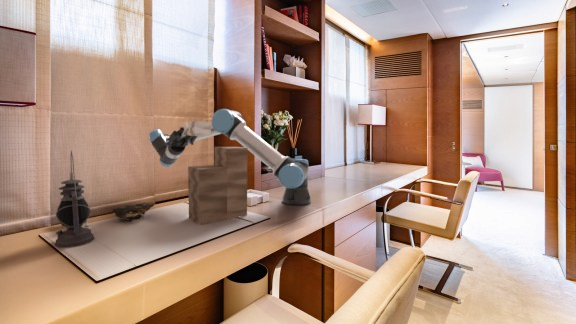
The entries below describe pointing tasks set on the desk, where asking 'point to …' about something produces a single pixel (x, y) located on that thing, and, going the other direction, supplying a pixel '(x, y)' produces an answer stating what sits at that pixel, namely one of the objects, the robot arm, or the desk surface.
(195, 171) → the stand
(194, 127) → the pale wooden block
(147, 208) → the fossil rock
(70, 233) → the lantern
